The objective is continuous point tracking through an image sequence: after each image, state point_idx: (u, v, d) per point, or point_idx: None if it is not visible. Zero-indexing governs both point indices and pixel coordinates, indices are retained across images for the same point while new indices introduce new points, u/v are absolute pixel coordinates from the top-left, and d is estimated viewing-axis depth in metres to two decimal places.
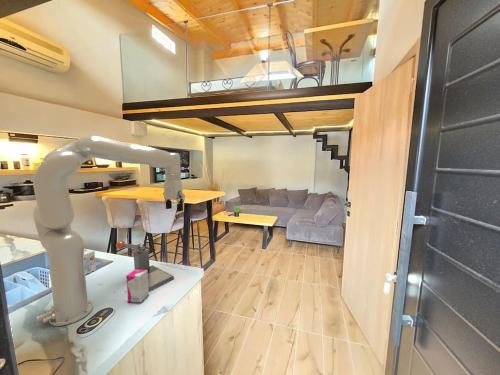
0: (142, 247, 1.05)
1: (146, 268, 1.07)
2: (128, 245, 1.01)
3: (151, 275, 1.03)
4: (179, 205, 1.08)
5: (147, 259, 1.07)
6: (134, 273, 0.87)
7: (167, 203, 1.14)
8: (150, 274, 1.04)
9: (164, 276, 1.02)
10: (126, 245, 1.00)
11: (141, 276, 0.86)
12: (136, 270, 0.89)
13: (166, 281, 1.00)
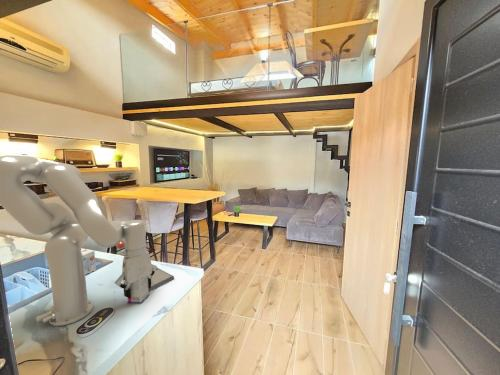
0: None
1: None
2: None
3: None
4: None
5: None
6: None
7: None
8: None
9: (164, 276, 1.02)
10: None
11: (141, 276, 0.86)
12: None
13: (166, 281, 1.00)
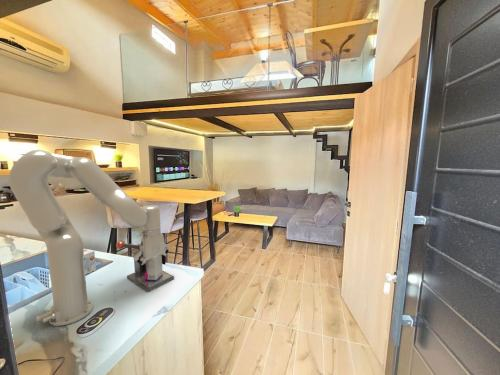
0: None
1: None
2: (128, 245, 1.01)
3: None
4: (165, 257, 1.05)
5: None
6: None
7: None
8: None
9: (164, 276, 1.02)
10: (126, 245, 1.00)
11: (156, 257, 0.98)
12: None
13: (166, 281, 1.00)
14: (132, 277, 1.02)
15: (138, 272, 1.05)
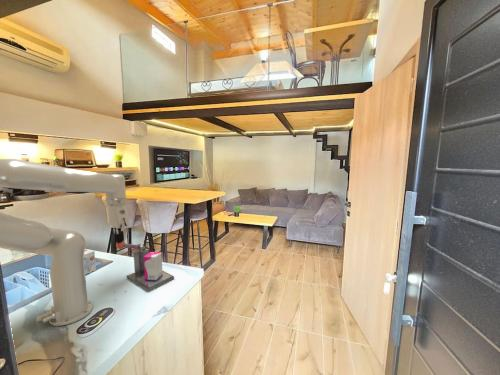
0: (142, 247, 1.05)
1: None
2: (128, 245, 1.01)
3: None
4: None
5: None
6: (150, 254, 1.00)
7: None
8: None
9: (164, 276, 1.02)
10: (126, 245, 1.00)
11: (156, 257, 0.98)
12: (152, 253, 1.02)
13: (166, 281, 1.00)
14: (132, 277, 1.02)
15: (138, 272, 1.05)
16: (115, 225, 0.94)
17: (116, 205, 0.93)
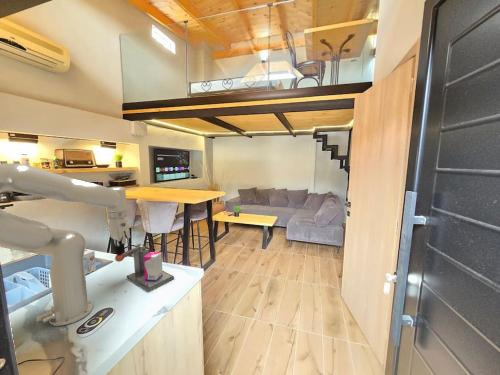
0: (141, 248, 1.05)
1: None
2: (127, 253, 1.01)
3: None
4: None
5: None
6: (150, 254, 1.00)
7: None
8: None
9: (164, 276, 1.02)
10: (125, 255, 1.00)
11: (156, 257, 0.98)
12: (152, 253, 1.02)
13: (166, 281, 1.00)
14: (132, 277, 1.02)
15: (138, 272, 1.05)
16: (116, 237, 0.95)
17: (117, 218, 0.94)
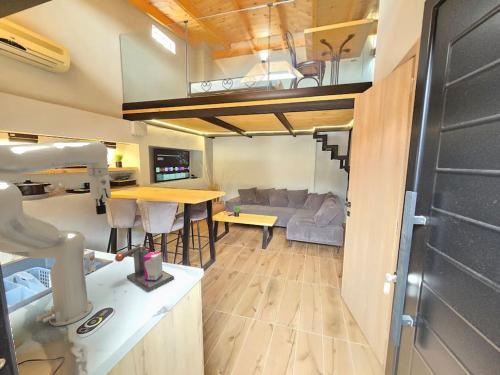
0: (141, 248, 1.05)
1: None
2: (127, 253, 1.01)
3: None
4: None
5: None
6: (150, 254, 1.00)
7: None
8: None
9: (164, 276, 1.02)
10: (125, 255, 1.00)
11: (156, 257, 0.98)
12: (152, 253, 1.02)
13: (166, 281, 1.00)
14: (132, 277, 1.02)
15: (138, 272, 1.05)
16: (96, 195, 0.92)
17: (97, 175, 0.91)
